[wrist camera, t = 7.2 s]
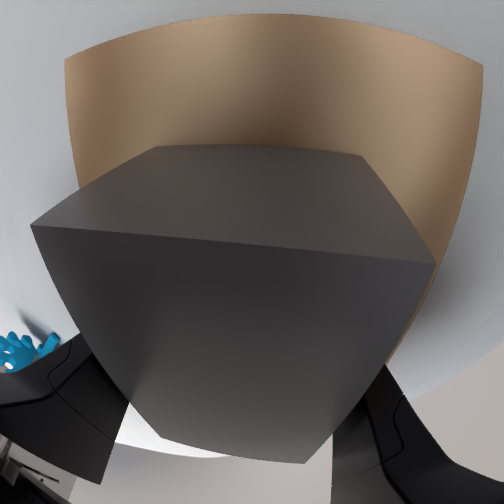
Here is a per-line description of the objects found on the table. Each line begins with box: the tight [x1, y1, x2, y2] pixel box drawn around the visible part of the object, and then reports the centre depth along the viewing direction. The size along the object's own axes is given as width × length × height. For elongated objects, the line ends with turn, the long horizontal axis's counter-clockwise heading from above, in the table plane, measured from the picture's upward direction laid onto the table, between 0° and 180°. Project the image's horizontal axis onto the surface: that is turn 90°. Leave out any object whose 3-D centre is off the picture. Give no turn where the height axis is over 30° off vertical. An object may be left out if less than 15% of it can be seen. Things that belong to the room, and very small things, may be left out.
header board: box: [65, 14, 483, 365], centre depth 10 cm, size 14×18×4 cm
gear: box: [0, 331, 59, 373], centre depth 19 cm, size 11×6×10 cm
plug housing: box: [30, 144, 437, 464], centre depth 8 cm, size 6×10×5 cm, turn 179°
